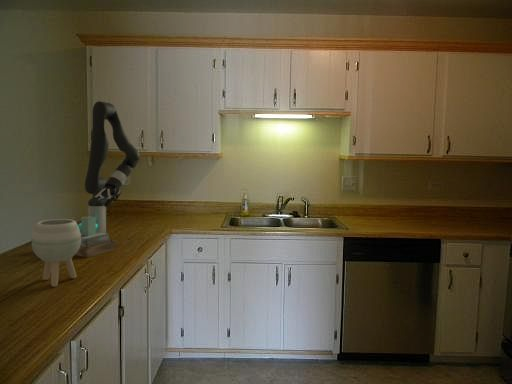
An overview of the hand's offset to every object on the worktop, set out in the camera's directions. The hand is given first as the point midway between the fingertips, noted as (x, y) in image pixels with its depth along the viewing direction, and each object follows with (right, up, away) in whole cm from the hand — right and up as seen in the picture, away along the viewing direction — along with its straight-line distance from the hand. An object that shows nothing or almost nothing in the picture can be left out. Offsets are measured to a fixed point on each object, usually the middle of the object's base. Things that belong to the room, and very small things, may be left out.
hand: (98, 205), depth 191 cm
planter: (+4, -27, -48) cm, 55 cm away
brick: (-3, -14, -5) cm, 15 cm away
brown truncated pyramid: (-3, -22, -4) cm, 22 cm away
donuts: (-11, -20, +14) cm, 27 cm away
